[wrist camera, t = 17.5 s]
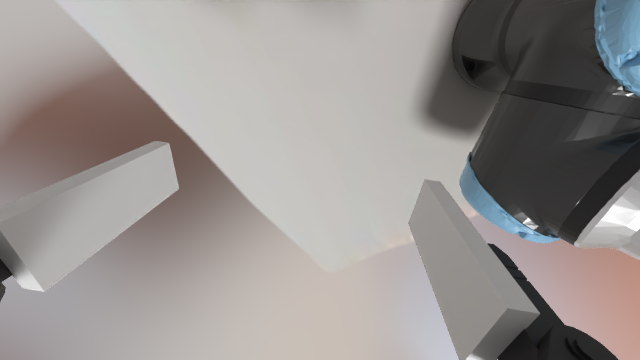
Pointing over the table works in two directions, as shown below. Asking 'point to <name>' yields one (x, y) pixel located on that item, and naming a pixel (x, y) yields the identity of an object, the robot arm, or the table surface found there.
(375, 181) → the table surface
